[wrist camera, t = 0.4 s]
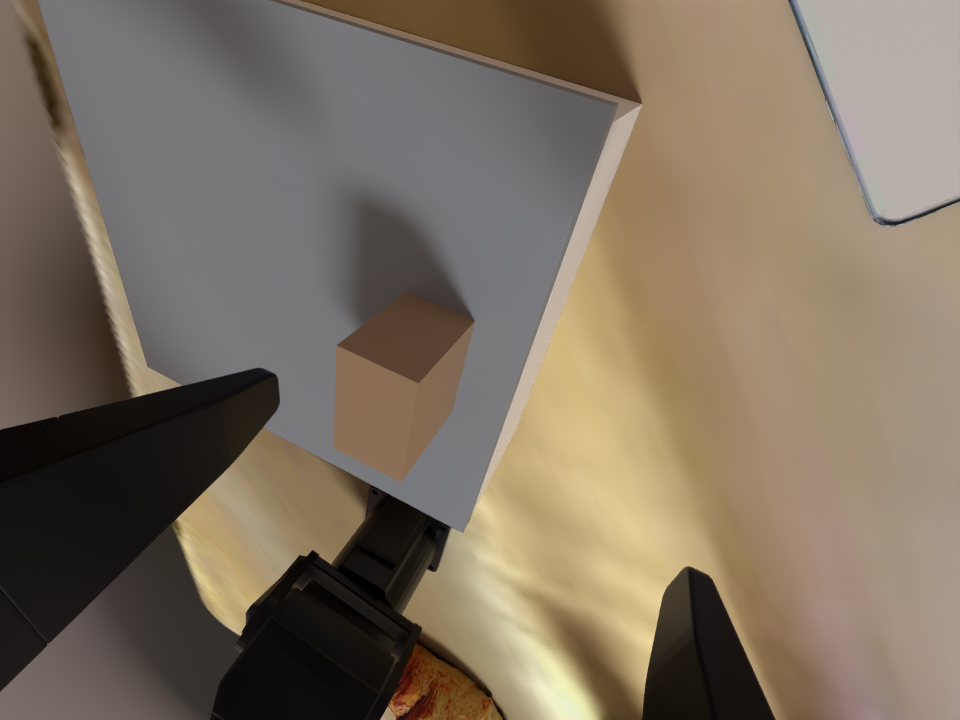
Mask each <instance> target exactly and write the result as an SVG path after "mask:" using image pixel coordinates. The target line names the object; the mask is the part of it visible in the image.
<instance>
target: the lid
mask: <svg viewBox="0 0 960 720" xmlns="http://www.w3.org/2000/svg"><path fill="white" fill-rule="evenodd" d="M38 3H39V6H40V9H41V13H42V16H43V19H44V23H45V26H46V29H47V33H48V36H49V39H50V43H51V46H52V49H53V53H54V56H55V59H56V63H57V66H58V69H59V73H60V76H61V79H62V83H63V86H64V89H65V93H66V96H67V99H68V103H69V106H70V109H71V113H72V116H73V119H74V123H75V126H76V129H77V133H78V136H79V139H80V143H81V146H82V149H83V153H84V156H85V159H86V163H87V166H88V169H89V173H90V176H91V179H92V183H93V186H94V189H95V193H96V196H97V199H98V203H99V206H100V209H101V213H102V216H103V219H104V223H105V226H106V229H107V233H108V236H109V239H110V243H111V246H112V249H113V253H114V256H115V259H116V263H117V266H118V269H119V273H120V276H121V279H122V283H123V286H124V289H125V293H126V296H127V299H128V303H129V306H130V309H131V313H132V316H133V319H134V323H135V326H136V329H137V333H138V336H139V339H140V343H141V346H142V349H143V353H144V356H145V359H146V363H147V366H148V367H149V368H151V369H153V370H155V371H157V372H159V373H160V374H162V375H164V376H166V377H168V378H170V379H172V380H174V381H176V382H178V383H179V384H181V385H183V386H184V385H188V384H192V383H196V382H200V381H204V380H208V379H212V378H216V377H221V376H225V375H229V374H233V373H237V372H241V371H245V370H249V369H253V368H264V369H266V370H268V371H271V372H273V373H275V374H276V375H277V377H278V380H279V392H280V405H279V407H278V409H277V411H276V412H275V414H274V415H273V416H272V417H271V418H270V420H269V421H268V422H267V423H266V424H265V426H264V427H263V428H265V429H267V430H268V431H270V432H272V433H274V434H276V435H278V436H280V437H282V438H284V439H286V440H287V441H289V442H291V443H293V444H295V445H297V446H299V447H301V448H303V449H305V450H306V451H308V452H310V453H312V454H314V455H316V456H318V457H320V458H322V459H323V460H325V461H327V462H329V463H331V464H333V465H335V466H337V467H339V468H341V469H342V470H344V471H346V472H348V473H350V474H352V475H354V476H356V477H358V478H359V479H361V480H363V481H365V482H367V483H369V484H371V485H373V486H375V487H377V488H378V489H380V490H382V491H384V492H386V493H388V494H390V495H392V496H394V497H395V498H397V499H399V500H401V501H403V502H405V503H407V504H409V505H411V506H413V507H414V508H416V509H418V510H420V511H422V512H424V513H426V514H428V515H430V516H431V517H433V518H435V519H437V520H439V521H441V522H443V523H445V524H447V525H449V526H450V527H452V528H454V529H456V530H458V531H460V532H462V533H463V531H464V530H465V528H466V526H467V524H468V522H469V520H470V518H471V515H472V512H473V509H474V507H475V504H476V501H477V498H478V495H479V493H480V490H481V487H482V484H483V481H484V479H485V476H486V473H487V470H488V468H489V465H490V462H491V459H492V456H493V454H494V451H495V448H496V445H497V442H498V440H499V437H500V434H501V431H502V429H503V426H504V423H505V420H506V417H507V415H508V412H509V409H510V406H511V403H512V401H513V398H514V395H515V392H516V390H517V387H518V384H519V381H520V378H521V376H522V373H523V370H524V367H525V365H526V362H527V359H528V356H529V353H530V351H531V348H532V345H533V342H534V339H535V337H536V334H537V331H538V328H539V326H540V323H541V320H542V317H543V314H544V312H545V309H546V306H547V303H548V300H549V298H550V295H551V292H552V289H553V287H554V284H555V281H556V278H557V275H558V273H559V270H560V267H561V264H562V261H563V259H564V256H565V253H566V250H567V248H568V245H569V242H570V239H571V236H572V234H573V231H574V228H575V225H576V222H577V220H578V217H579V214H580V211H581V209H582V206H583V203H584V200H585V197H586V195H587V192H588V189H589V186H590V183H591V181H592V178H593V175H594V172H595V170H596V167H597V164H598V161H599V158H600V156H601V153H602V150H603V147H604V144H605V142H606V139H607V136H608V133H609V131H610V128H611V125H612V122H613V119H614V117H615V114H616V111H617V108H618V105H619V103H616V102H612V101H609V100H606V99H603V98H599V97H596V96H593V95H590V94H586V93H583V92H580V91H576V90H573V89H570V88H567V87H563V86H560V85H557V84H554V83H550V82H547V81H544V80H541V79H537V78H534V77H531V76H527V75H524V74H521V73H518V72H514V71H511V70H508V69H505V68H501V67H498V66H495V65H491V64H488V63H485V62H482V61H478V60H475V59H472V58H469V57H465V56H462V55H459V54H455V53H452V52H449V51H446V50H442V49H439V48H436V47H433V46H429V45H426V44H423V43H420V42H416V41H413V40H410V39H406V38H403V37H400V36H397V35H393V34H390V33H387V32H384V31H380V30H377V29H374V28H370V27H367V26H364V25H361V24H357V23H354V22H351V21H348V20H344V19H341V18H338V17H335V16H331V15H328V14H325V13H321V12H318V11H315V10H312V9H308V8H305V7H302V6H299V5H295V4H292V3H289V2H285V1H282V0H38Z"/></svg>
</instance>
